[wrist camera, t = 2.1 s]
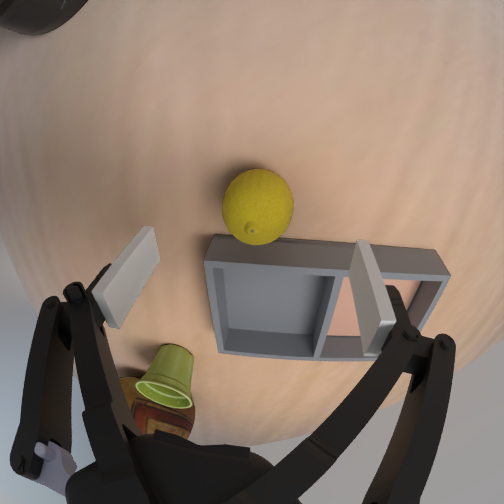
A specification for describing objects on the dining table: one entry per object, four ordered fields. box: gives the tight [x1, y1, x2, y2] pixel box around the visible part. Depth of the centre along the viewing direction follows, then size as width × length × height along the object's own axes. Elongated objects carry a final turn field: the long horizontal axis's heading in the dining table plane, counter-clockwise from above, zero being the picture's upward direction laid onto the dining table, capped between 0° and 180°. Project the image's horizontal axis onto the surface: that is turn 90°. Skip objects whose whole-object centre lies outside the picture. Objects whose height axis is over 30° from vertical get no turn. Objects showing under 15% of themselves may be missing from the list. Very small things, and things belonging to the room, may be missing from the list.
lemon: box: [222, 169, 293, 245], centre depth 21 cm, size 6×6×8 cm
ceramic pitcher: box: [119, 377, 195, 440], centre depth 43 cm, size 20×20×30 cm
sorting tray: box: [203, 234, 451, 361], centre depth 30 cm, size 15×25×4 cm, turn 90°
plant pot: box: [136, 344, 194, 408], centre depth 40 cm, size 9×9×9 cm
